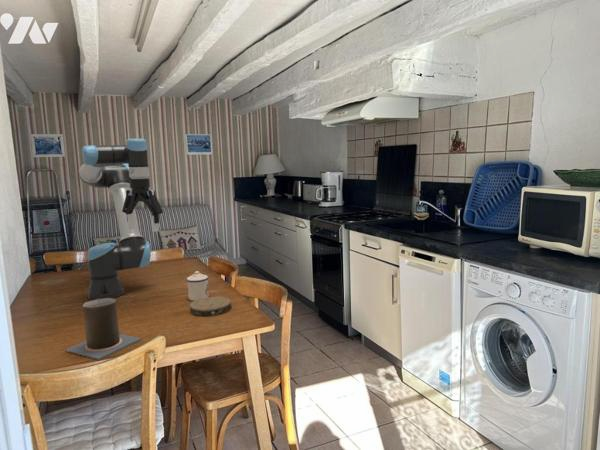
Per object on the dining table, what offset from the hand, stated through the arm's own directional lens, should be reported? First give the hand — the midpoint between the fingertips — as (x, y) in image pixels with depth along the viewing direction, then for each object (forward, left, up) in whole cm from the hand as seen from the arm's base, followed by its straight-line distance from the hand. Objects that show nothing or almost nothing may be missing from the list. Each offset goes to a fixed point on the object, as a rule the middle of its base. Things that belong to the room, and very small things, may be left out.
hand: (143, 230), depth 175 cm
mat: (+18, -37, -31) cm, 52 cm away
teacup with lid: (+12, +15, -31) cm, 37 cm away
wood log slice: (+28, +4, -32) cm, 43 cm away
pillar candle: (+18, -36, -31) cm, 51 cm away
